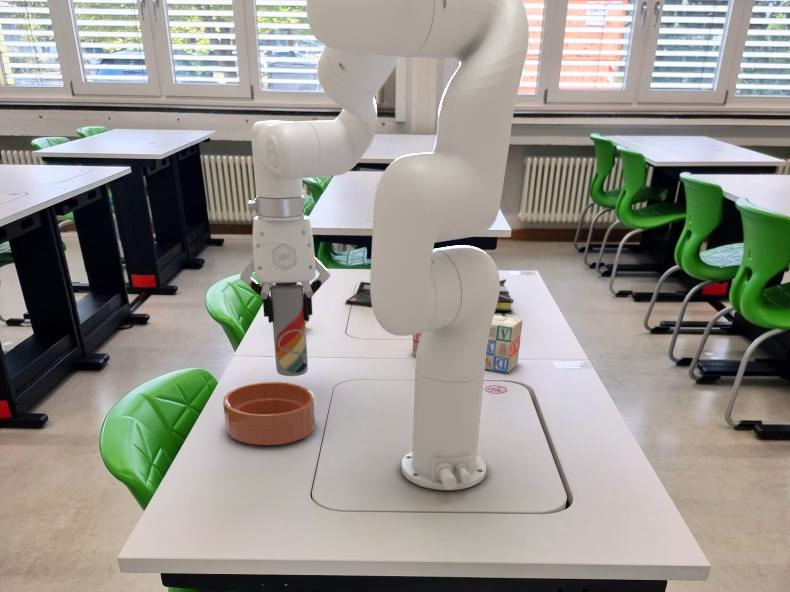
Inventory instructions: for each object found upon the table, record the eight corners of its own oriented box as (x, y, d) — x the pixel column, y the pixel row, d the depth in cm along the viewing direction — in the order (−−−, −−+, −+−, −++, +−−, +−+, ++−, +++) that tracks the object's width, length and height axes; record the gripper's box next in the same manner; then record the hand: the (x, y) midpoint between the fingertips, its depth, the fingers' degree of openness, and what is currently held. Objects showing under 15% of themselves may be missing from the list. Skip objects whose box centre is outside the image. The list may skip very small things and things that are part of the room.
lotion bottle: (302, 377, 130) (295, 260, 120) (272, 375, 131) (262, 258, 121) (312, 367, 135) (305, 253, 124) (282, 365, 136) (274, 252, 125)
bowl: (317, 446, 115) (316, 413, 112) (225, 450, 113) (221, 417, 110) (311, 410, 127) (310, 380, 124) (228, 414, 124) (224, 383, 122)
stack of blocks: (518, 364, 149) (525, 303, 142) (507, 374, 144) (514, 311, 138) (424, 347, 157) (426, 288, 150) (411, 355, 152) (413, 295, 146)
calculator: (346, 303, 185) (346, 291, 183) (361, 293, 194) (361, 281, 193) (381, 307, 183) (381, 295, 181) (394, 296, 192) (395, 284, 191)
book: (442, 290, 199) (443, 271, 196) (504, 292, 198) (506, 273, 196) (444, 312, 180) (446, 291, 178) (513, 314, 180) (515, 294, 177)
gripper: (226, 212, 114) (238, 327, 124) (335, 210, 117) (339, 324, 126) (227, 205, 120) (239, 316, 130) (331, 204, 123) (335, 312, 132)
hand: (288, 318), depth 128 cm, fingers closed on lotion bottle, 5 cm apart
